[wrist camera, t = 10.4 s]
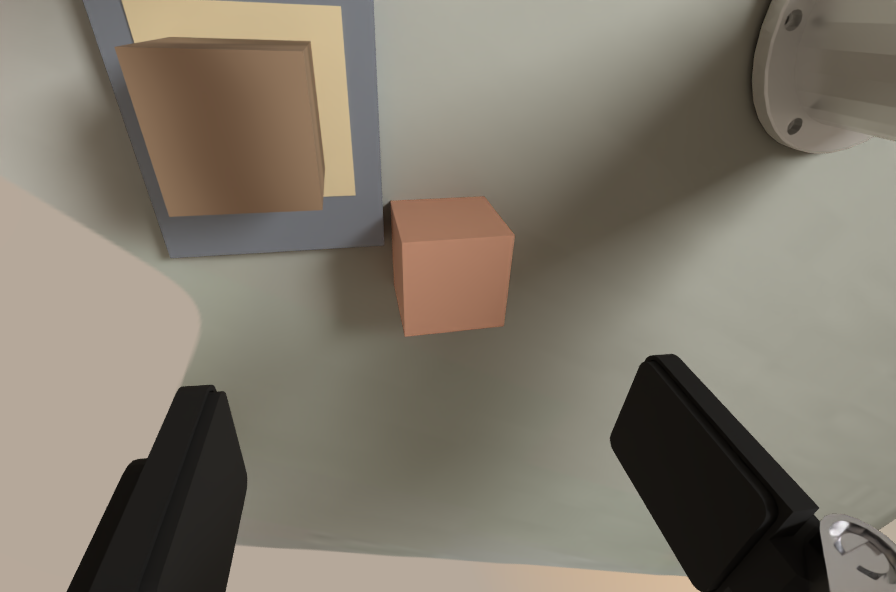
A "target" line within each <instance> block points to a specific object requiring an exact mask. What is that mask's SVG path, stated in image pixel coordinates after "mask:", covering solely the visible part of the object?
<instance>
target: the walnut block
mask: <svg viewBox="0 0 896 592" xmlns="http://www.w3.org/2000/svg"><path fill="white" fill-rule="evenodd" d="M114 48H115V51H116V54H117V57H118V60H119V63H120V66H121V69H122V72H123V75H124V79H125V82H126V85H127V88H128V91H129V94H130V97H131V100H132V103H133V106H134V109H135V112H136V116H137V119H138V122H139V125H140V128H141V131H142V134H143V137H144V140H145V143H146V146H147V149H148V153H149V156H150V159H151V162H152V165H153V168H154V171H155V174H156V177H157V180H158V183H159V187H160V190H161V193H162V196H163V199H164V202H165V205H166V208H167V211H168V214H169V217H177V216H200V215H223V214H246V213H269V212H292V211H315V210H323V195H324V178H325V163H324V155H323V146H322V137H321V128H320V119H319V111H318V102H317V93H316V84H315V75H314V67H313V58H312V49H311V41H294V40H259V39H225V38H191V37H166V38H161V39H155V40H150V41H144V42H138V43H133V44H127V45H122V46H116V47H114Z"/></svg>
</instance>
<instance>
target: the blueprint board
mask: <svg viewBox="0 0 896 592" xmlns="http://www.w3.org/2000/svg"><path fill="white" fill-rule="evenodd" d="M83 3H84V6H85V8H86V11H87V14H88V17H89V20H90V23H91V26H92V29H93V32H94V35H95V38H96V41H97V44H98V47H99V50H100V53H101V55H102V58H103V61H104V64H105V67H106V70H107V73H108V76H109V79H110V82H111V85H112V88H113V91H114V94H115V97H116V100H117V103H118V105H119V108H120V111H121V114H122V117H123V120H124V123H125V126H126V129H127V132H128V135H129V138H130V141H131V144H132V147H133V150H134V152H135V155H136V158H137V161H138V164H139V167H140V170H141V173H142V176H143V179H144V182H145V185H146V188H147V191H148V194H149V197H150V200H151V202H152V205H153V208H154V211H155V214H156V217H157V220H158V223H159V226H160V229H161V232H162V235H163V238H164V241H165V244H166V247H167V249H168V252H169V255H170V258H181V257H198V256H215V255H232V254H248V253H265V252H282V251H299V250H316V249H332V248H349V247H366V246H383V245H384V227H383V204H382V182H381V159H380V137H379V114H378V92H377V69H376V47H375V24H374V2H373V0H83ZM166 37H191V38H225V39H259V40H294V41H311V49H312V58H313V67H314V75H315V84H316V93H317V102H318V111H319V119H320V128H321V137H322V146H323V155H324V163H325V178H324V195H323V210H315V211H292V212H269V213H246V214H223V215H200V216H177V217H169V214H168V211H167V208H166V205H165V202H164V199H163V196H162V193H161V190H160V187H159V183H158V180H157V177H156V174H155V171H154V168H153V165H152V162H151V159H150V156H149V153H148V149H147V146H146V143H145V140H144V137H143V134H142V131H141V128H140V125H139V122H138V119H137V116H136V112H135V109H134V106H133V103H132V100H131V97H130V94H129V91H128V88H127V85H126V82H125V79H124V75H123V72H122V69H121V66H120V63H119V60H118V57H117V54H116V51H115V48H114V47H116V46H122V45H127V44H133V43H138V42H144V41H150V40H155V39H161V38H166Z"/></svg>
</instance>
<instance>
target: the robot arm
mask: <svg viewBox="0 0 896 592" xmlns="http://www.w3.org/2000/svg"><path fill="white" fill-rule="evenodd" d="M752 90H753V102H754V105H755V109H756V112H757V115H758V119H759V121H760V122H761V124H762V125H763V127H764V129H765V130H766V132H767V133H768V134H769V135H770V136H771V137H772V138H774V139H775V140H776V141H777V142H778V143H780V144H783V145H785V146H788V147H790V148H792V149H796V150H800V151H804V152H808V153H812V154H814V153H832V152H836V151H840V150H845V149H848V148H851V147H853V146H855V145H858V144H860V143H863V142H865V141H867V140H869V139H871V138H872V137H874V136H875V137H879V138H884V139H888V140H892V141H896V0H772V1H771V4H770V7H769V9H768V12H767V14H766V17H765V19H764V22H763V24H762V27H761V31H760V35H759V39H758V43H757V46H756V50H755V54H754V64H753V73H752ZM610 442H611V447H612V449H613V451H614V453H615V454H616V456H617V458H618V460H619V461H620V463H621V465H622V466H623V468H624V470H625V471H626V473H627V475H628V476H629V478H630V480H631V482H632V483H633V485H634V487H635V488H636V490H637V492H638V493H639V495H640V497H641V498H642V500H643V502H644V503H645V505H646V507H647V509H648V510H649V512H650V514H651V515H652V517H653V519H654V520H655V522H656V524H657V525H658V527H659V529H660V530H661V532H662V534H663V536H664V537H665V539H666V541H667V542H668V544H669V546H670V547H671V549H672V551H673V552H674V554H675V556H676V557H677V559H678V561H679V563H680V564H681V566H682V568H683V569H684V571H685V573H686V574H687V576H688V578H689V579H690V581H691V583H692V584H693V585H694V586H695V588H696V589H698V590H699V591H701V592H896V544H895V543H894V542H893V541H891V540H890V539H889V538H888V537H887V536H886V535H884V534H883V533H881V532H880V531H879V530H877V529H876V528H874V527H873V526H871V525H869V524H867V523H865V522H863V521H862V520H860V519H857V518H854V517H851V516H848V515H845V514H836V513H833V514H829V515H826V516H824V517H823V518H822V519H821V520H820V521H819V520H818V519H817V518H816V516H815V515H814V513H815V512H816V511H817V510H818V509H819V507H818V506H817V505H816V504H815V503H814V501H813V500H812V499H811V498H810V497H809V496H808V495H807V494H806V493H805V492H804V491H803V490H802V489H801V488H800V486H799V485H798V484H797V483H796V482H795V481H794V480H793V479H792V478H791V477H790V476H789V475H788V474H787V473H786V471H785V470H784V469H783V468H782V467H781V466H780V465H779V464H778V463H777V462H776V461H775V460H774V459H773V458H772V456H771V455H770V454H769V453H768V452H767V451H766V450H765V449H764V448H763V447H762V446H761V445H760V444H759V443H758V441H757V440H756V439H755V438H754V437H753V436H752V435H751V434H750V433H749V432H748V431H747V430H746V429H745V428H744V426H743V425H742V424H741V423H740V422H739V421H738V420H737V419H736V418H735V417H734V416H733V415H732V414H731V413H730V411H729V410H728V409H727V408H726V407H725V406H724V405H723V404H722V403H721V402H720V401H719V400H718V399H717V398H716V396H715V395H714V394H713V393H712V392H711V391H710V390H709V389H708V388H707V387H706V386H705V385H704V384H703V383H702V382H701V380H700V379H699V378H698V377H697V376H696V375H695V374H694V373H693V372H692V371H691V370H690V369H689V368H688V367H687V365H686V364H685V363H684V362H683V361H682V360H681V359H680V358H679V357H678V356H676V355H674V354H666V355H652V356H649V357H647V358H646V360H645V361H644V362H643V363H641V365H640V366H639V369H638V371H637V373H636V376H635V378H634V381H633V383H632V385H631V388H630V390H629V392H628V395H627V397H626V400H625V402H624V404H623V407H622V409H621V411H620V414H619V416H618V419H617V421H616V423H615V426H614V428H613V431H612V433H611V436H610ZM246 490H247V473H246V469H245V465H244V461H243V457H242V453H241V450H240V446H239V442H238V438H237V434H236V430H235V427H234V423H233V419H232V415H231V411H230V407H229V404H228V400H227V396H226V393H225V392H224V391H220V392H217V391H216V388H215V387H214V385H200V386H185V387H180V388H179V389H178V391H177V393H176V395H175V397H174V399H173V401H172V404H171V406H170V408H169V411H168V413H167V415H166V418H165V420H164V422H163V424H162V426H161V429H160V431H159V433H158V436H157V438H156V440H155V442H154V445H153V447H152V449H151V451H150V454H149V456H148V458H146V459H137V460H134V461H132V462H131V463H130V464H129V465H128V466H127V468H126V470H125V471H124V473H123V475H122V477H121V479H120V481H119V483H118V485H117V487H116V489H115V492H114V494H113V496H112V498H111V500H110V502H109V504H108V506H107V508H106V510H105V513H104V515H103V517H102V519H101V521H100V523H99V525H98V527H97V529H96V531H95V534H94V535H93V538H92V540H91V542H90V544H89V546H88V548H87V550H86V552H85V554H84V556H83V558H82V561H81V563H80V565H79V567H78V569H77V571H76V573H75V575H74V577H73V580H72V581H71V584H70V586H69V588H68V590H67V592H225V591H226V587H227V582H228V577H229V572H230V567H231V563H232V558H233V553H234V548H235V543H236V539H237V534H238V529H239V524H240V519H241V515H242V510H243V505H244V500H245V495H246Z"/></svg>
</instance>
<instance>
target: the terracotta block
mask: <svg viewBox="0 0 896 592" xmlns="http://www.w3.org/2000/svg"><path fill="white" fill-rule="evenodd" d="M390 206H391V229H392V252H393V275H394V287H395V292H396V297H397V301H398V306H399V311H400V316H401V321H402V325H403V330H404V335H405V337H407V336H416V335H426V334H435V333H444V332H454V331H463V330H472V329H482V328H491V327H501V326H504V320H505V312H506V304H507V296H508V287H509V279H510V271H511V263H512V254H513V246H514V238H515V235H514V234H513V232H512V231H511V230H510V229H509V227H508V226H507V225H506V223H505V222H504V221H503V220H502V218H501V217H500V216H499V215H498V213H497V212H496V211H495V209H494V208H493V207H492V206H491V204H490V203H489V202H488V201H487V199H486V198H485V197H484V196H482V197H461V198H440V199H420V200H399V201H390Z"/></svg>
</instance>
